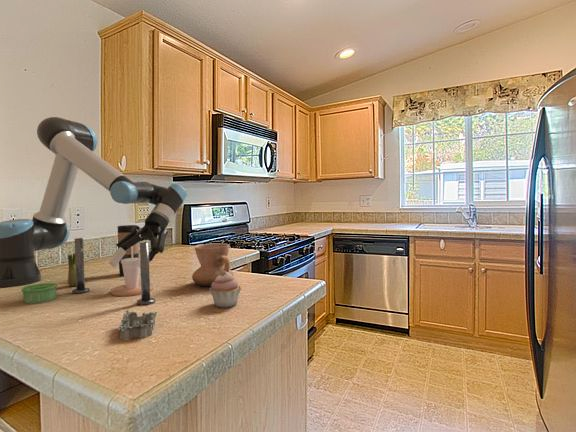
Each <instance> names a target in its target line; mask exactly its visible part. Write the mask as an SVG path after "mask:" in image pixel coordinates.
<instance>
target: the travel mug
mask: <svg viewBox="0 0 576 432" xmlns="http://www.w3.org/2000/svg"><path fill="white" fill-rule="evenodd" d="M137 226H138V225H136V224H131V225H130V224H128V225H117V243H118V242H120V241H121V240H122V239H123V238H125V237H126V236H127V235H128V234H129V233H131V232H132V231H133V230H134V229H135V228H136V227H137ZM124 248H125V247H124ZM118 249H119V247H118V246H117V250H118ZM126 258H132V257H131V247H130V248H129V249H127V250H126V253H125V255H124V256H123V257H122V259H126ZM133 258H140V247H139V242H138V243H137V244H135V245H133ZM122 259H121V260H122ZM121 260H120V262H119V263H118V267H119V276H121V277H124V273H123V267H122V264H121Z"/></svg>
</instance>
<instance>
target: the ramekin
mask: <svg viewBox="0 0 576 432" xmlns="http://www.w3.org/2000/svg"><path fill="white" fill-rule="evenodd" d="M57 287H58V283H55V282H42V283H34V284H30V285H26V286H23V287H21V293H22V297H23V303H25V304H29V305H30V304H33V305H34V304H41V303H47V302H50V301H53V300H55V299H56V297H57Z"/></svg>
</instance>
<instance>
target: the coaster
mask: <svg viewBox="0 0 576 432" xmlns="http://www.w3.org/2000/svg"><path fill="white" fill-rule="evenodd" d="M153 290H154V285H153V284H152V283H150V292H152V291H153ZM110 295H112V296H116V297H132V296H139V295H140V296H141V282H140V283H138V288H135V289H126V285H125V284H121V285H117V286H115V287H112V288H111V289H110Z"/></svg>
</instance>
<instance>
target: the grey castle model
mask: <svg viewBox="0 0 576 432" xmlns="http://www.w3.org/2000/svg"><path fill="white" fill-rule="evenodd" d="M157 314H158V311H154V312H152V311H149V313H145V312H142V315H138V314H137V312H136V311H129V309H126V311H125V312H124V314H123V317H122V319H121V321H120V323H119V324H118V330H117V331H118V332H119V335H120V336H119V339H120V338H123V339H122V340H124V341H128V340H127V339H129V340H131V339H133V338H140V339H145V338H147V337H150V336H152V335H153V331H154V329H155V325H156V317H157ZM132 337H133V338H132ZM130 338H131V339H130Z"/></svg>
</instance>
